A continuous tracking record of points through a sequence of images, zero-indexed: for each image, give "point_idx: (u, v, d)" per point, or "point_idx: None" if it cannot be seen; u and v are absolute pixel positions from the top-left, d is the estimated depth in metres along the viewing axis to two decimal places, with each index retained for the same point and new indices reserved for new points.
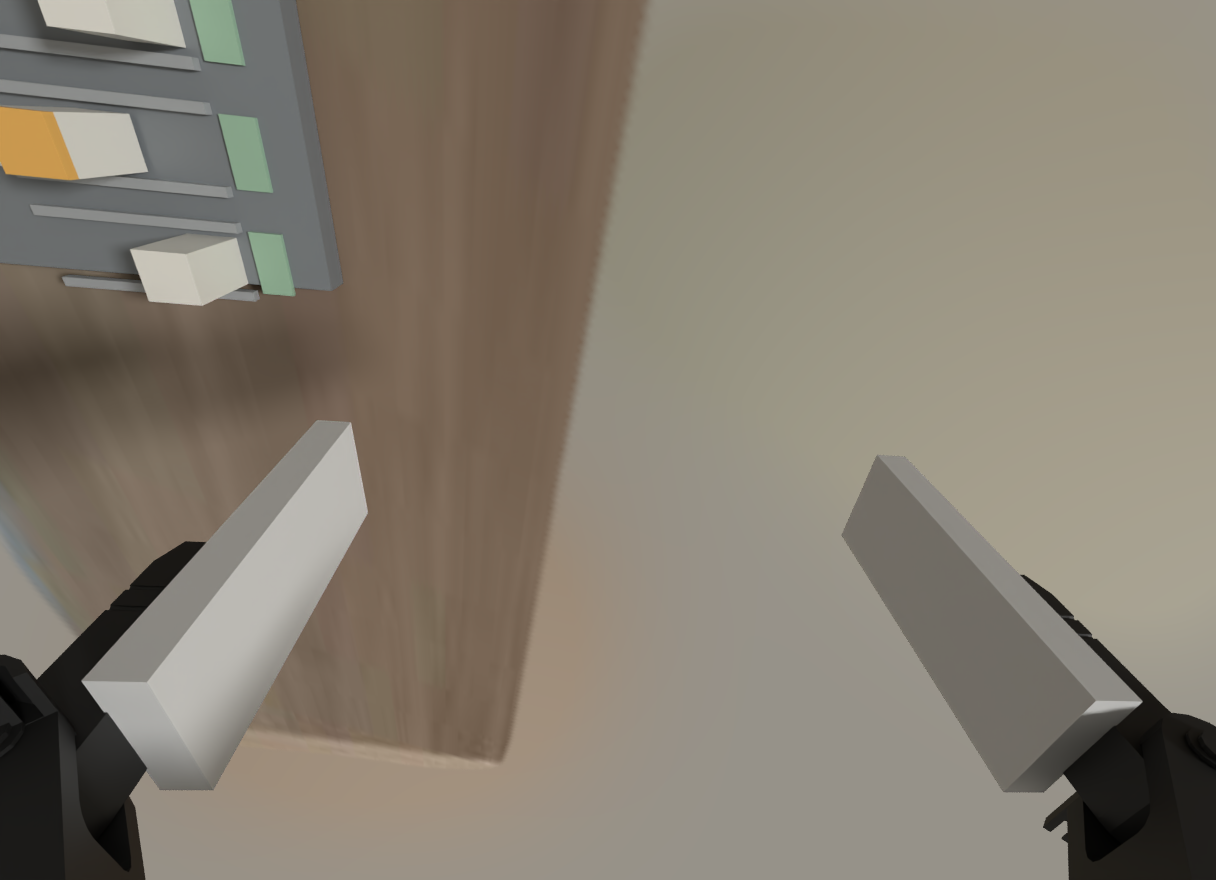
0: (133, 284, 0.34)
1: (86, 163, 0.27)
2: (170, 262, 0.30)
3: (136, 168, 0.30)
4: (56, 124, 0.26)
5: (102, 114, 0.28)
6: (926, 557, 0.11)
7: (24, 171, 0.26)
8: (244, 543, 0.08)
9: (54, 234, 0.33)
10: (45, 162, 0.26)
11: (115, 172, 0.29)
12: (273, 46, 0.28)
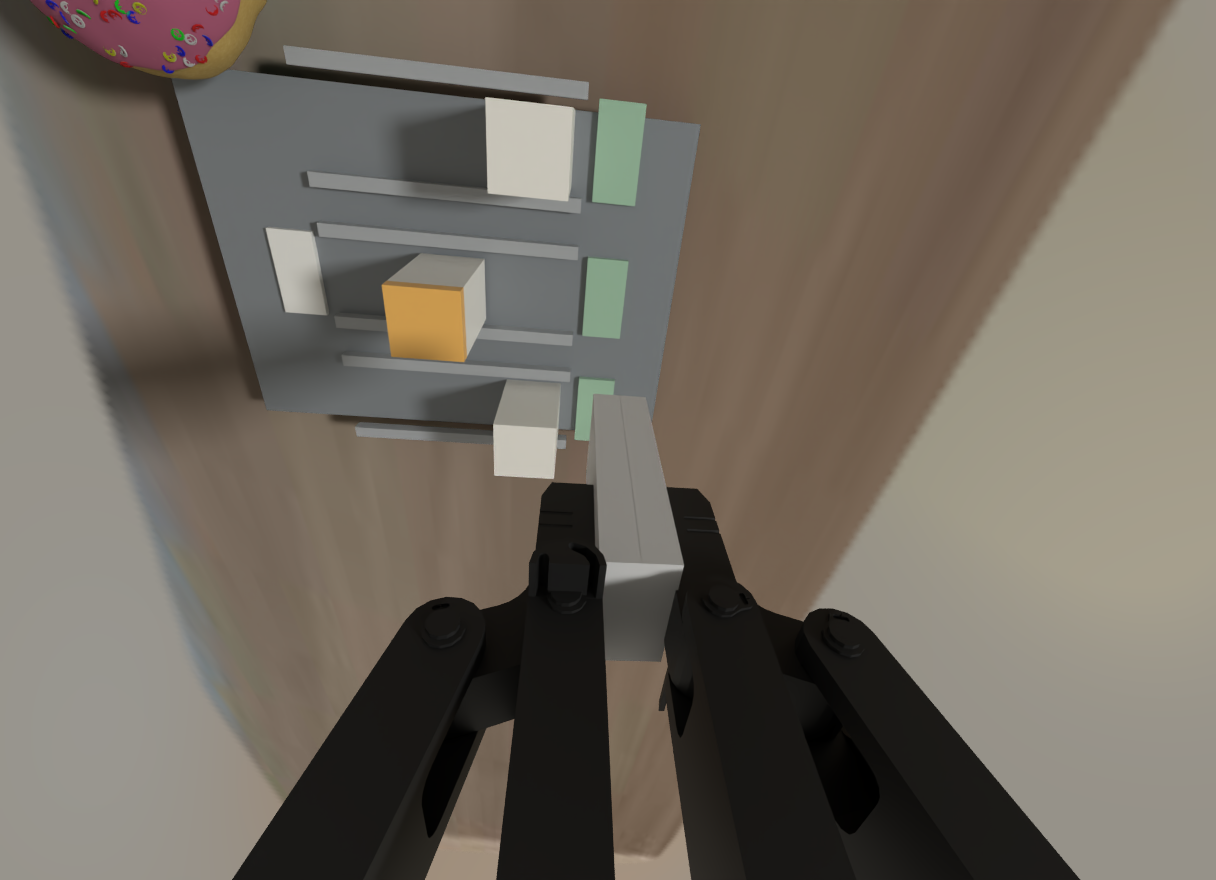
0: (433, 434, 0.30)
1: (469, 335, 0.22)
2: (534, 437, 0.25)
3: (483, 319, 0.26)
4: (463, 300, 0.21)
5: (477, 270, 0.23)
6: None
7: (414, 353, 0.21)
8: (623, 479, 0.11)
9: (355, 382, 0.28)
10: (443, 344, 0.21)
11: (477, 333, 0.24)
12: (674, 184, 0.24)
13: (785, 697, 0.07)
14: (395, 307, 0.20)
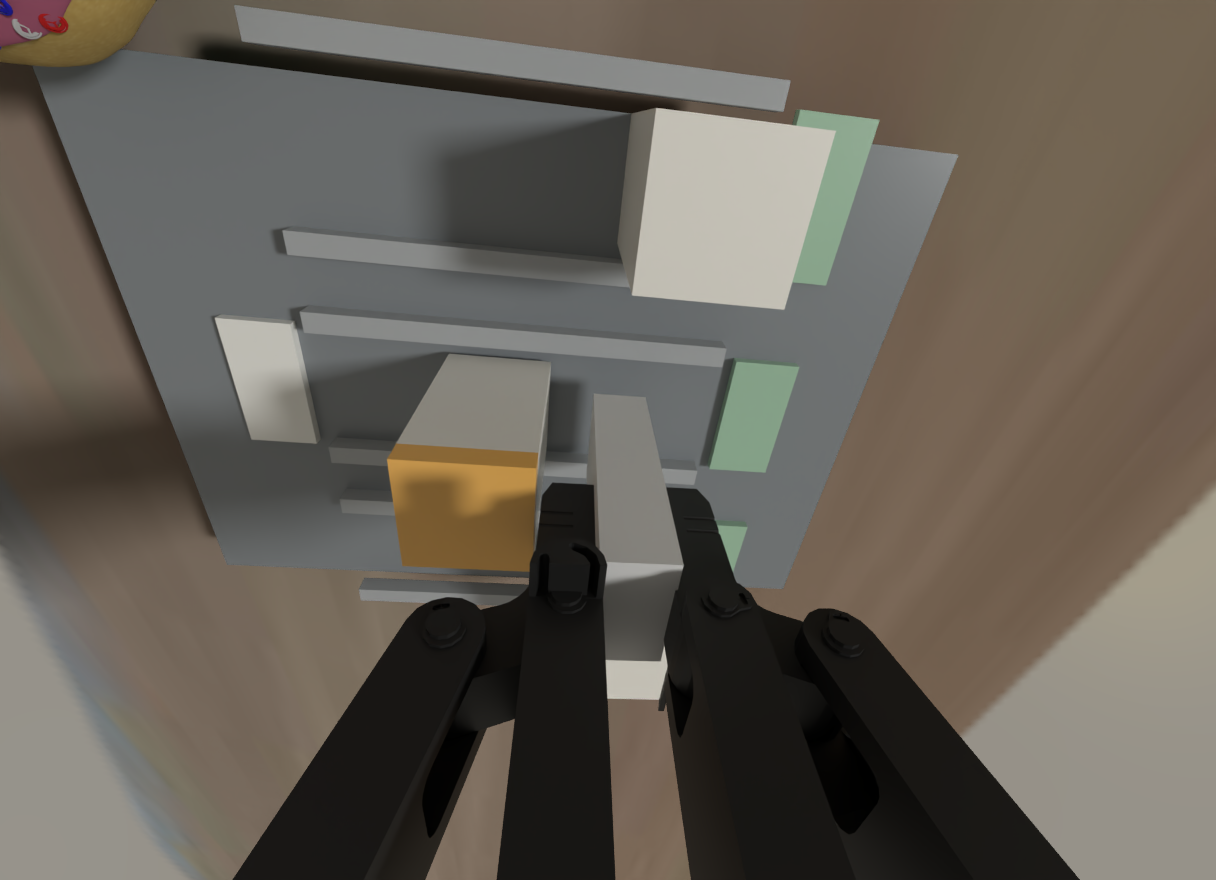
0: (473, 596, 0.20)
1: (537, 511, 0.13)
2: None
3: (545, 453, 0.16)
4: (537, 474, 0.11)
5: (546, 392, 0.14)
6: None
7: (444, 561, 0.12)
8: (623, 479, 0.11)
9: (359, 528, 0.19)
10: (496, 547, 0.12)
11: (541, 487, 0.15)
12: (892, 251, 0.14)
13: (784, 697, 0.07)
14: (412, 493, 0.11)
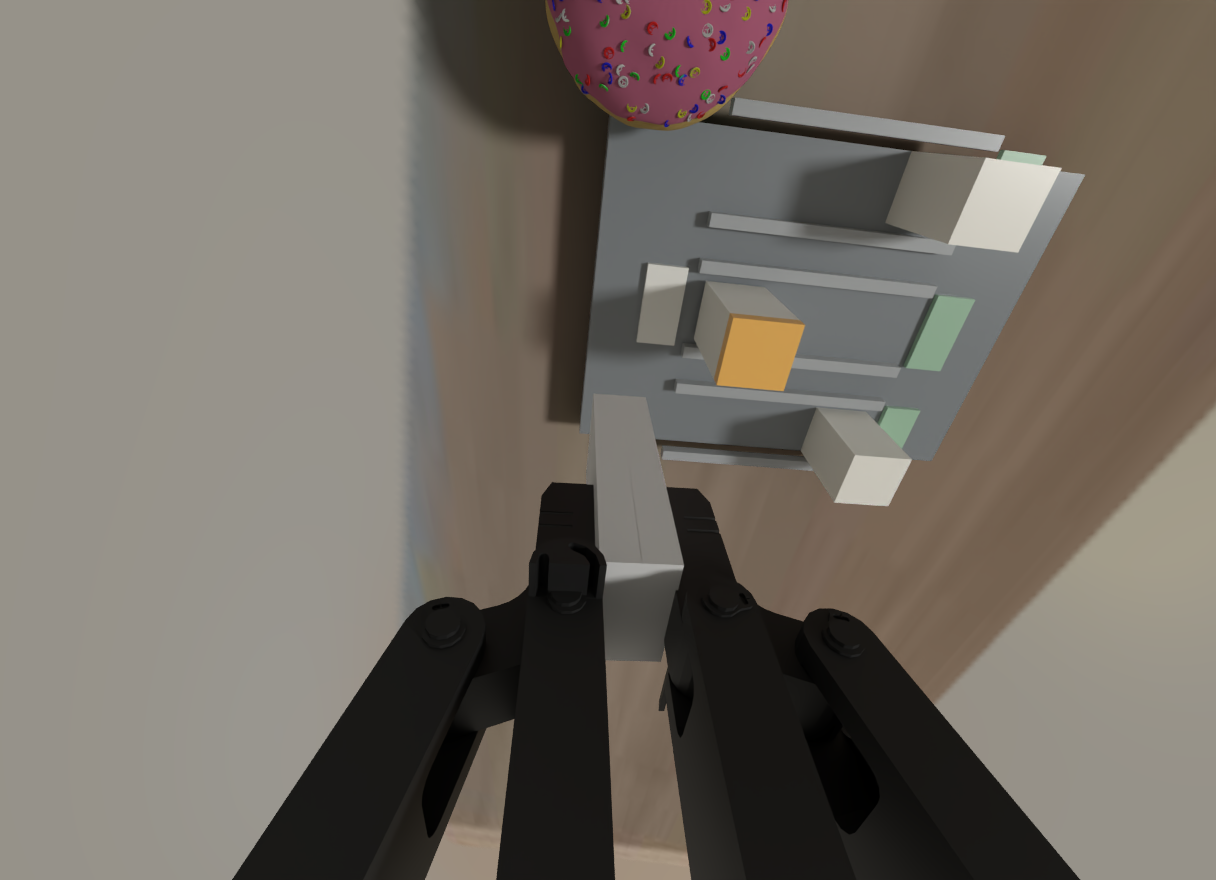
0: (734, 458, 0.31)
1: None
2: (887, 467, 0.26)
3: None
4: None
5: (776, 300, 0.24)
6: None
7: (739, 382, 0.22)
8: (623, 479, 0.11)
9: (672, 407, 0.29)
10: (769, 374, 0.22)
11: None
12: (1040, 229, 0.25)
13: (785, 697, 0.07)
14: (738, 338, 0.21)
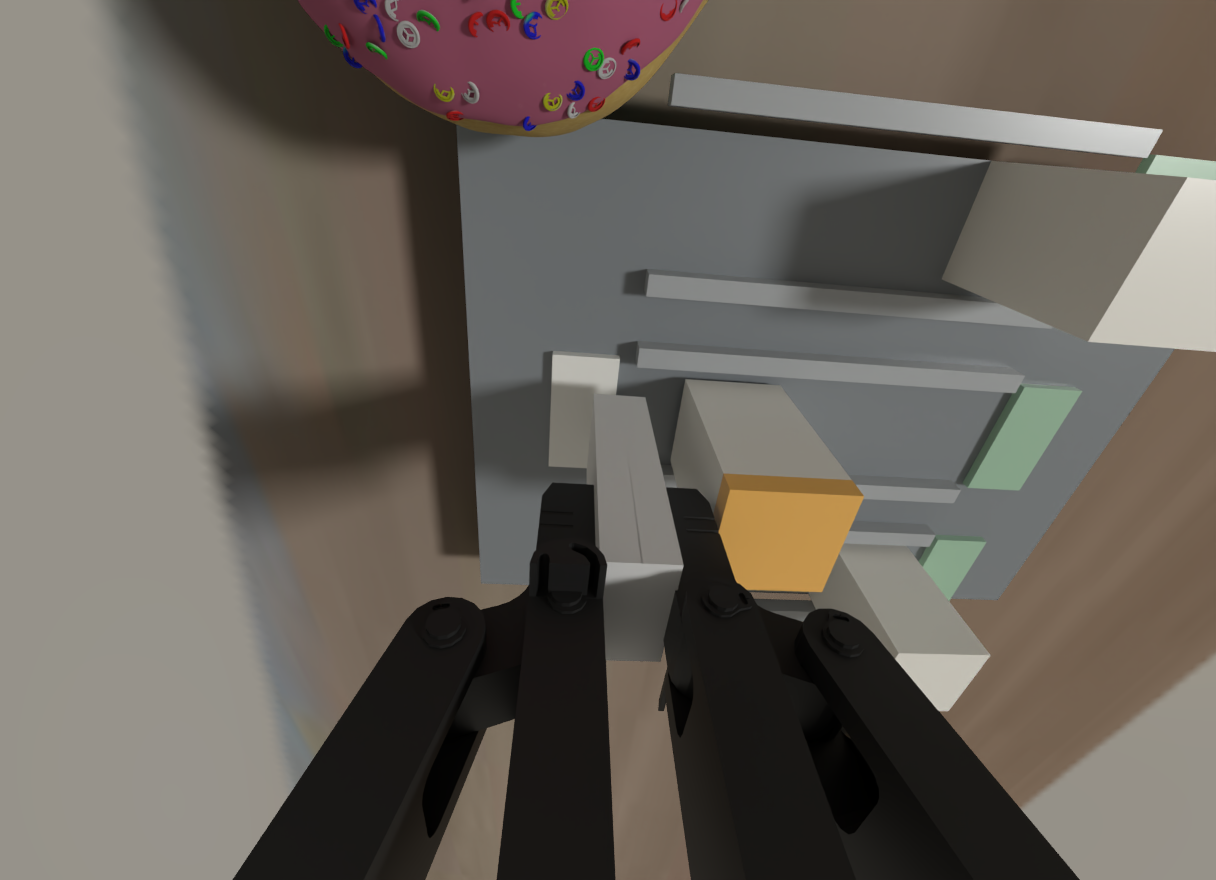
0: None
1: None
2: (951, 666, 0.16)
3: None
4: None
5: None
6: None
7: (743, 583, 0.12)
8: (624, 479, 0.11)
9: None
10: (798, 569, 0.12)
11: None
12: None
13: (785, 697, 0.07)
14: (740, 521, 0.11)
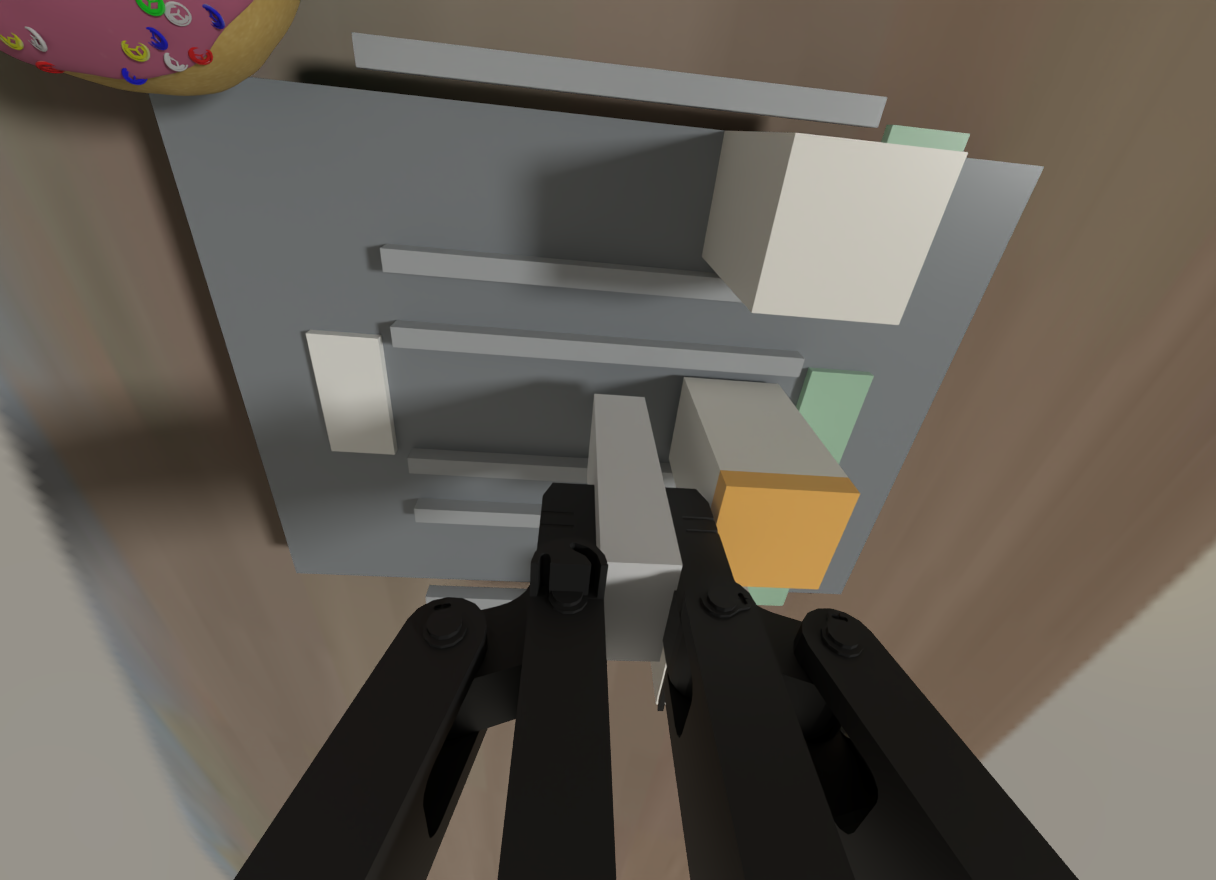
0: None
1: None
2: None
3: None
4: None
5: (799, 415, 0.14)
6: None
7: (740, 579, 0.12)
8: (624, 479, 0.11)
9: (428, 536, 0.19)
10: (794, 566, 0.12)
11: None
12: (972, 261, 0.14)
13: (783, 697, 0.07)
14: (737, 517, 0.11)
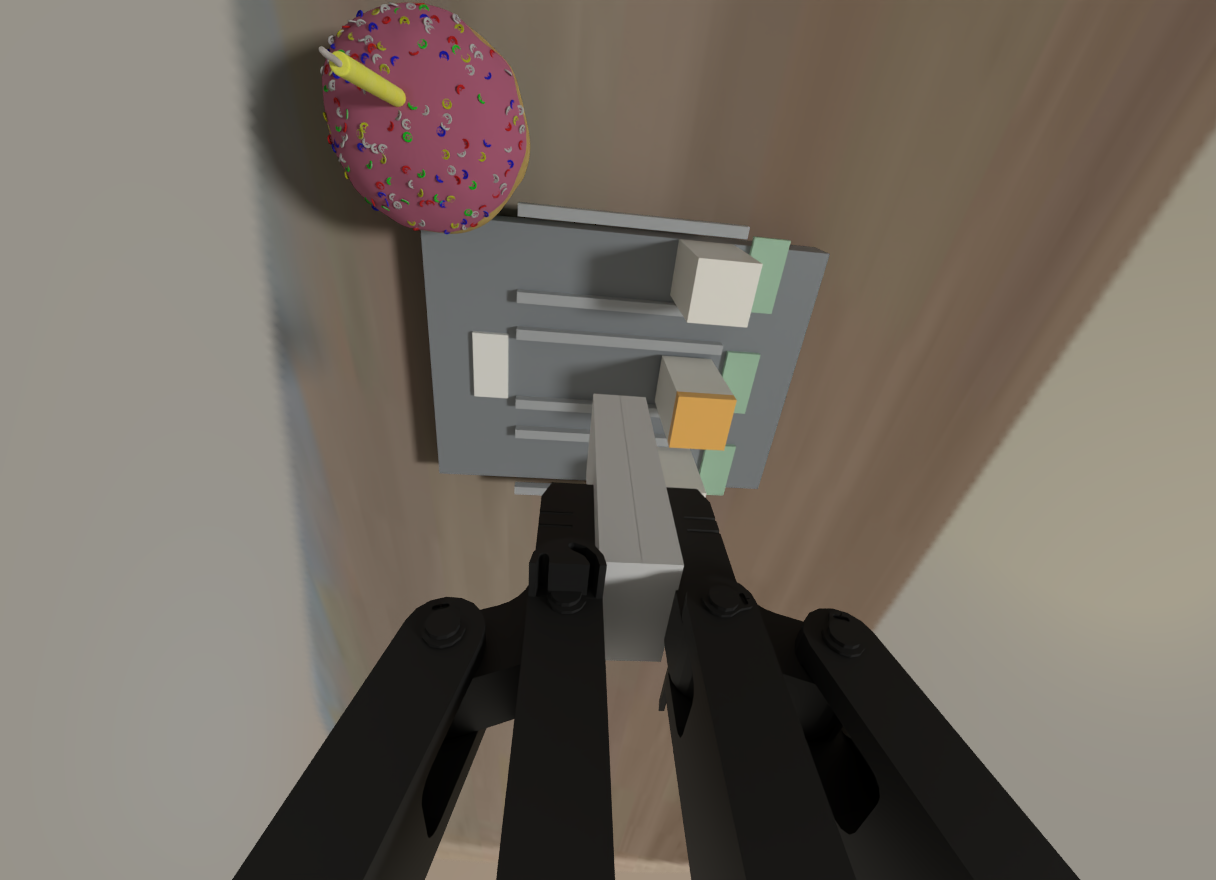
0: None
1: None
2: None
3: None
4: None
5: (718, 373, 0.29)
6: None
7: (687, 445, 0.27)
8: (623, 479, 0.11)
9: (518, 449, 0.33)
10: (711, 437, 0.27)
11: None
12: (803, 297, 0.29)
13: (785, 697, 0.07)
14: (684, 412, 0.26)
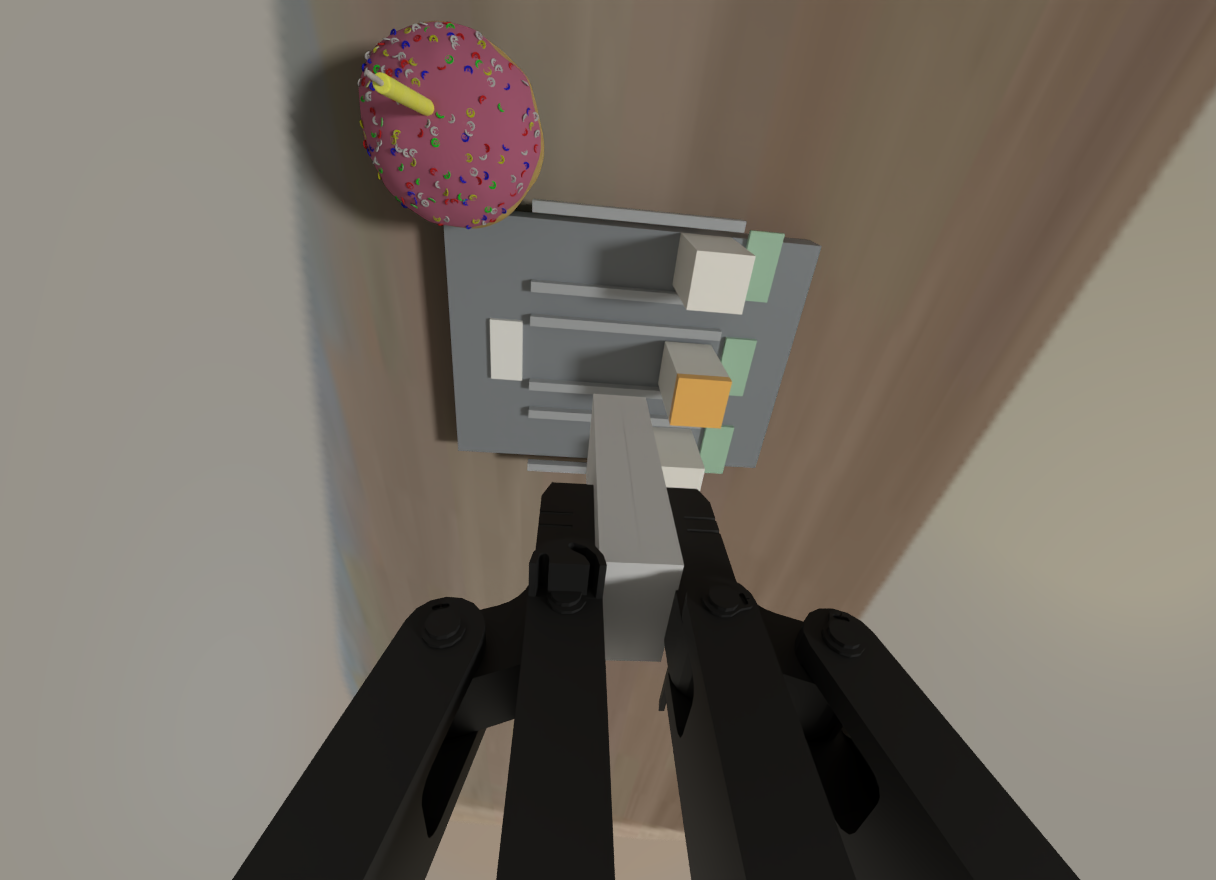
0: None
1: None
2: (687, 475, 0.33)
3: None
4: None
5: (717, 357, 0.31)
6: None
7: (687, 423, 0.29)
8: (623, 479, 0.11)
9: (531, 429, 0.36)
10: (709, 416, 0.29)
11: None
12: (797, 286, 0.32)
13: (785, 697, 0.07)
14: (683, 392, 0.28)
